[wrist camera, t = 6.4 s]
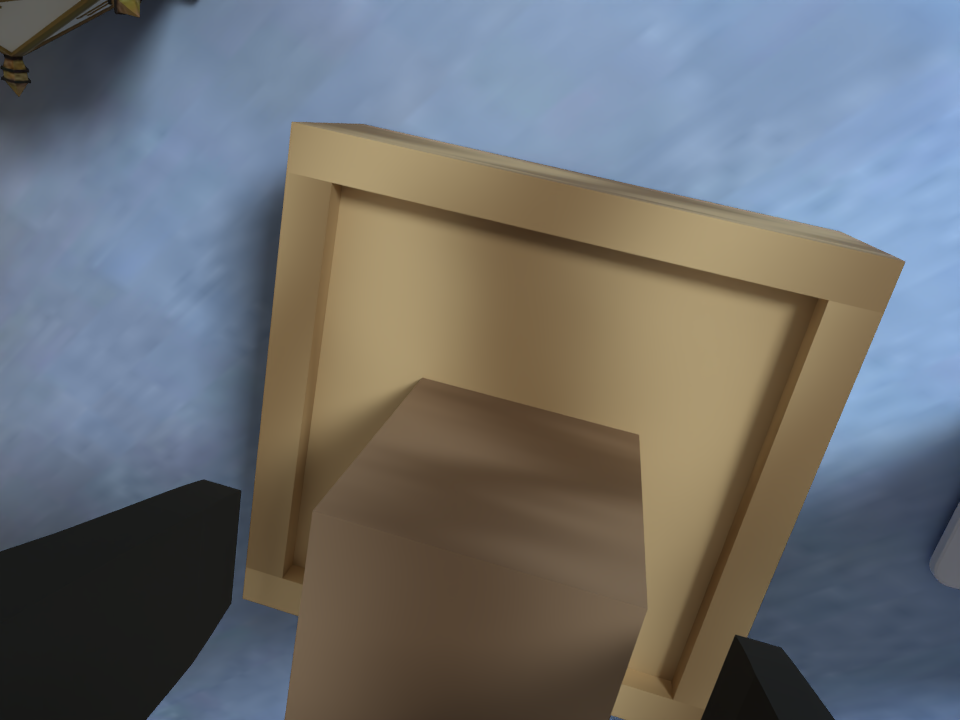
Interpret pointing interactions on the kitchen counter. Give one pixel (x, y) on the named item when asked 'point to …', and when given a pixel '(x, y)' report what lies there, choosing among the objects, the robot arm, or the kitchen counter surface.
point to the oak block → (565, 358)
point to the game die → (45, 28)
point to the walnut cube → (473, 568)
